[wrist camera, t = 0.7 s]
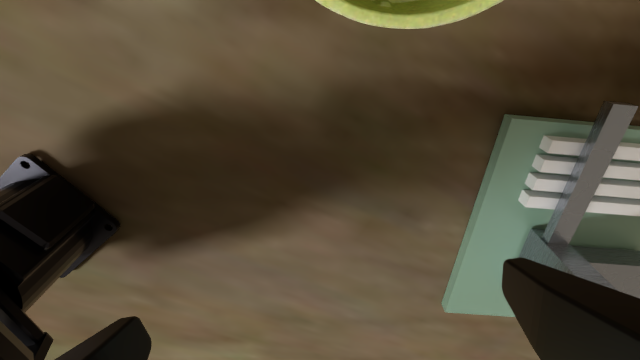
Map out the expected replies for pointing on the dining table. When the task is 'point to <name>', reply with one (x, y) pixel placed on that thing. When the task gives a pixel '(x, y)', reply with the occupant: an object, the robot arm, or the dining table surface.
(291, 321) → the dining table surface
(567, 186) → the orange-rimmed grey tower
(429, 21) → the plant pot
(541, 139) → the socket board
